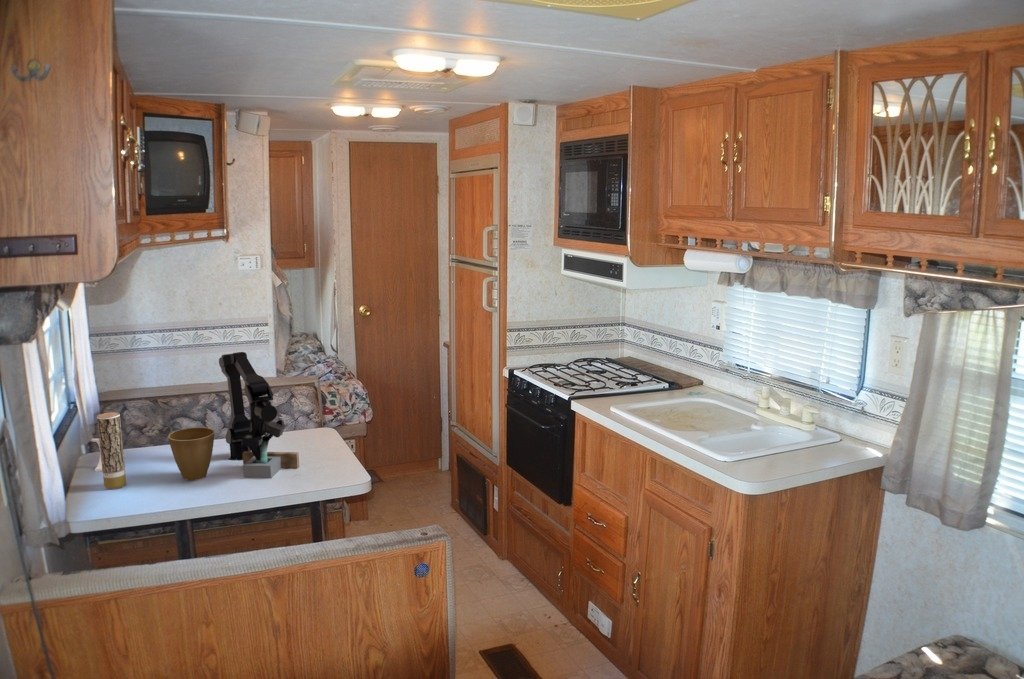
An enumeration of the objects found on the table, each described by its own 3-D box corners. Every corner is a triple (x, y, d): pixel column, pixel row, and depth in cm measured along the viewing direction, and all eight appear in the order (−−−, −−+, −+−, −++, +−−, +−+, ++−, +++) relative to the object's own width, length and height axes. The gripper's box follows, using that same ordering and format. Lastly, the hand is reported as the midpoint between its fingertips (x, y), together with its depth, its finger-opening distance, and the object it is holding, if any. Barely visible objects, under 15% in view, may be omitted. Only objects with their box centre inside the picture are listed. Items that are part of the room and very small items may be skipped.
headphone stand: (94, 471, 277) (91, 439, 275) (102, 466, 283) (99, 434, 281) (107, 471, 278) (104, 439, 276) (115, 465, 284) (112, 434, 281)
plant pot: (163, 478, 270) (160, 434, 267) (204, 467, 281) (200, 424, 279) (185, 488, 261) (181, 442, 258) (225, 476, 272) (222, 432, 269)
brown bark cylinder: (111, 491, 258) (104, 418, 254) (100, 487, 262) (92, 416, 257) (130, 485, 264) (123, 414, 260) (119, 481, 267) (112, 411, 263)
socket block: (243, 477, 270) (242, 465, 270) (254, 467, 280) (253, 456, 279) (271, 478, 270) (270, 465, 269) (281, 468, 280) (280, 456, 279)
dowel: (254, 473, 273) (252, 443, 271) (259, 469, 277) (257, 440, 275) (265, 473, 273) (263, 443, 271) (269, 470, 277) (268, 440, 275)
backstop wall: (243, 467, 281) (242, 453, 280) (245, 465, 282) (244, 451, 282) (297, 468, 279) (296, 454, 278) (299, 466, 281) (298, 452, 280)
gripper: (271, 423, 262) (273, 467, 264) (290, 408, 280) (292, 450, 283) (239, 422, 262) (242, 466, 265) (260, 408, 281) (263, 449, 283)
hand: (261, 458), depth 274 cm, fingers open, 4 cm apart
